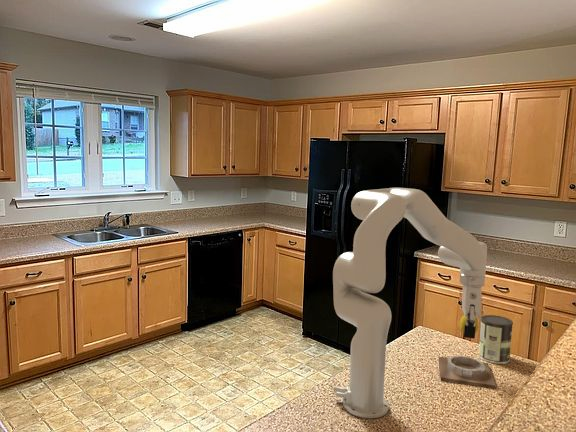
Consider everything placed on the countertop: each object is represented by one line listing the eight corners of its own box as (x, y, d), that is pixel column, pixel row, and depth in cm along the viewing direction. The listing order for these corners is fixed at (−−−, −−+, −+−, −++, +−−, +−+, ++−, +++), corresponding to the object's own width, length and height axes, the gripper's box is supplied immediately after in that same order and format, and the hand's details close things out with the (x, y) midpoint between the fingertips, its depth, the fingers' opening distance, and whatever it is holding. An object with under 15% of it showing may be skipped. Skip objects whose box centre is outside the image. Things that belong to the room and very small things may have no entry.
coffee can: (504, 353, 162) (507, 315, 161) (513, 365, 152) (517, 326, 151) (474, 350, 164) (477, 313, 162) (482, 362, 154) (485, 323, 152)
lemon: (479, 340, 141) (480, 316, 140) (460, 339, 142) (462, 315, 141) (475, 334, 147) (477, 310, 146) (457, 332, 148) (459, 309, 147)
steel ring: (448, 375, 142) (449, 367, 142) (446, 360, 153) (447, 353, 152) (485, 380, 139) (486, 372, 139) (481, 365, 150) (481, 358, 149)
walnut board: (440, 380, 140) (440, 377, 140) (438, 359, 156) (438, 356, 156) (495, 388, 136) (495, 385, 136) (487, 366, 151) (488, 363, 151)
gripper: (488, 288, 133) (484, 345, 135) (481, 274, 149) (477, 326, 152) (462, 285, 135) (458, 342, 137) (457, 272, 151) (453, 323, 154)
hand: (468, 333), depth 144 cm, fingers closed on lemon, 5 cm apart
